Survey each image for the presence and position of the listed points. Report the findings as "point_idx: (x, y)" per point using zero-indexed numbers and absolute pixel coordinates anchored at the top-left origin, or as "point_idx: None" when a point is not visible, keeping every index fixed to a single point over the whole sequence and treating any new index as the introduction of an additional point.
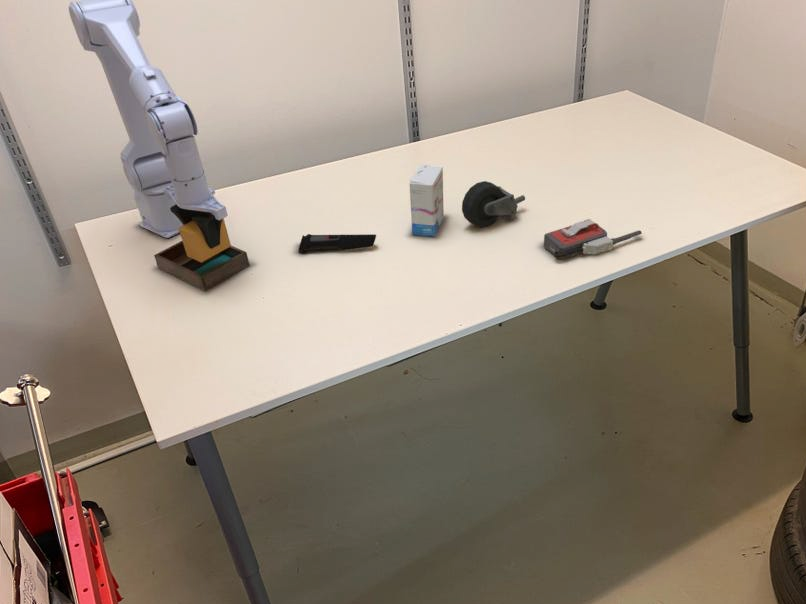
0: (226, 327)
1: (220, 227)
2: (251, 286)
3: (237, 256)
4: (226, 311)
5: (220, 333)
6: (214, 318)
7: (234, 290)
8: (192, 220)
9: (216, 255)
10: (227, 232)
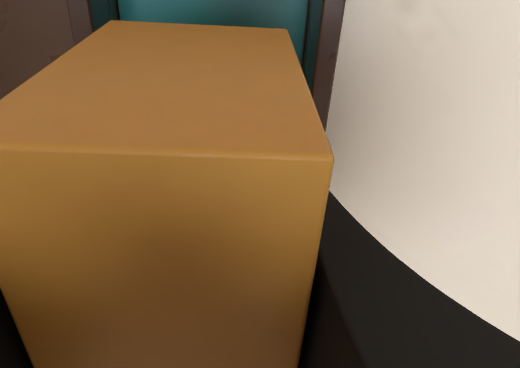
0: (508, 296)
1: (393, 258)
2: (466, 91)
3: (334, 25)
4: (459, 250)
5: (504, 317)
6: (440, 287)
7: (406, 152)
8: (25, 363)
9: (111, 9)
10: (299, 66)
